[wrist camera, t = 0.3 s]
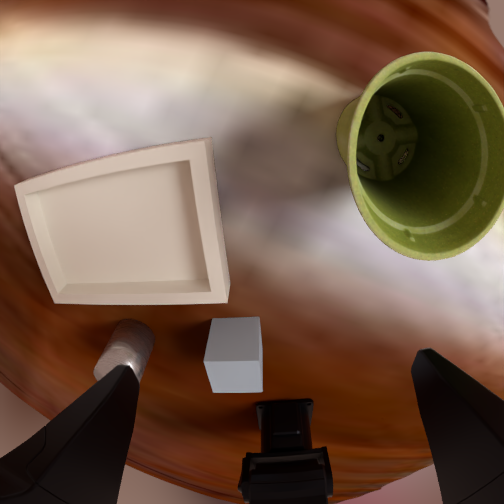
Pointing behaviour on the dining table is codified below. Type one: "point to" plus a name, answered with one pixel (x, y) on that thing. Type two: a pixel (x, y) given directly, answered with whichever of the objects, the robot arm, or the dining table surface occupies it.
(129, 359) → the metal cylinder
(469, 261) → the dining table surface
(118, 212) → the parts tray
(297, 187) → the dining table surface
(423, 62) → the plant pot
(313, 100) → the dining table surface
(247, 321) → the painted block
